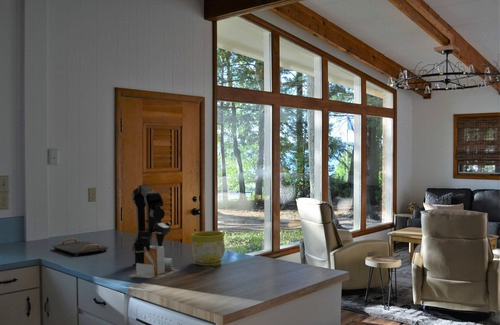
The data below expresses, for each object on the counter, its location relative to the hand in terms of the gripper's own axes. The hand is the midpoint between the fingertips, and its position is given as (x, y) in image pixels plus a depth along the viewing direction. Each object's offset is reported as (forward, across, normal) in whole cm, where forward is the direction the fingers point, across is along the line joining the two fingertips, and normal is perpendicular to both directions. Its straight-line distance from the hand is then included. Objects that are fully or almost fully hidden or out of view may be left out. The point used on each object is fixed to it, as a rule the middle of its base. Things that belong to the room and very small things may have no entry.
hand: (154, 249), depth 261 cm
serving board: (+13, +34, +85) cm, 92 cm away
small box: (+12, 0, 0) cm, 12 cm away
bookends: (+12, 0, 0) cm, 12 cm away
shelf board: (+13, 0, 0) cm, 13 cm away
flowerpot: (+13, +30, -12) cm, 35 cm away
